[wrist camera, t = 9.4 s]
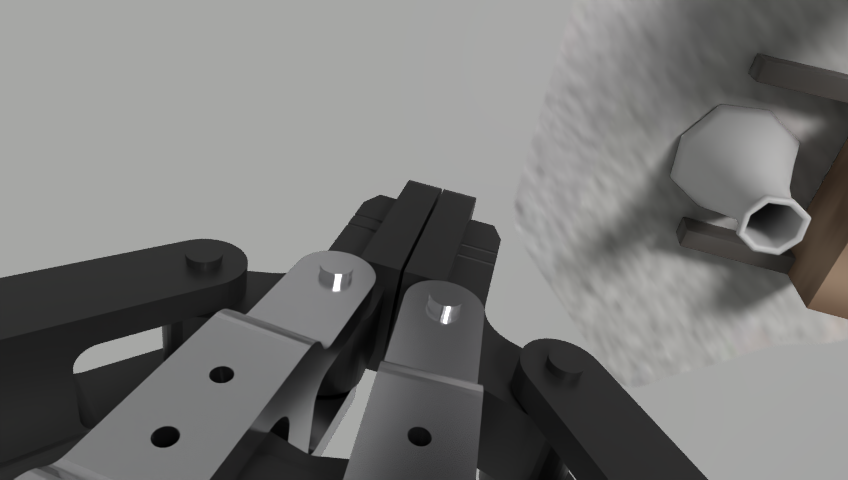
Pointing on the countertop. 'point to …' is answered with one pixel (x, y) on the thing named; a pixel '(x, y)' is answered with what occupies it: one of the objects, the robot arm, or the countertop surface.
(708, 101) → the countertop surface
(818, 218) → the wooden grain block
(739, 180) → the flask
